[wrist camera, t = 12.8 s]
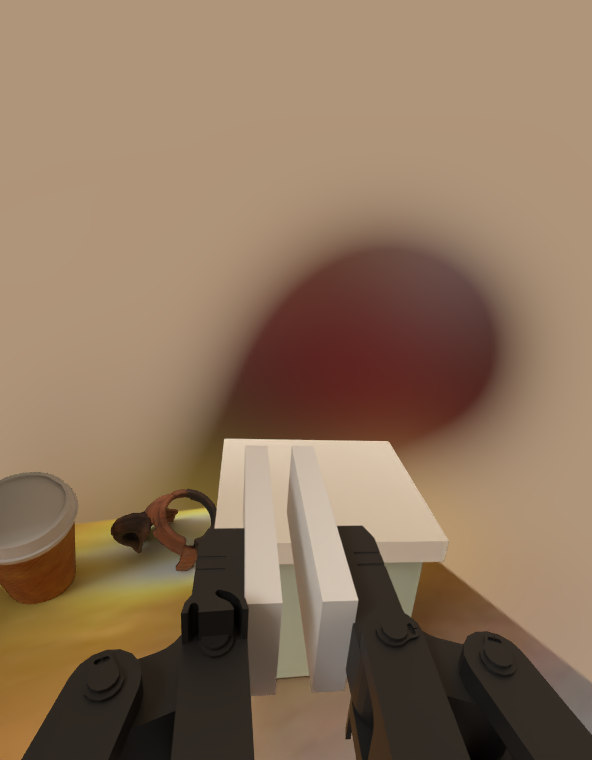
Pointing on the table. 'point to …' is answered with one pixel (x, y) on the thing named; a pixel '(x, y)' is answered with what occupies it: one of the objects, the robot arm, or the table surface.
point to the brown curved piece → (162, 527)
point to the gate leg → (291, 632)
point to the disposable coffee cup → (36, 536)
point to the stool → (342, 496)
